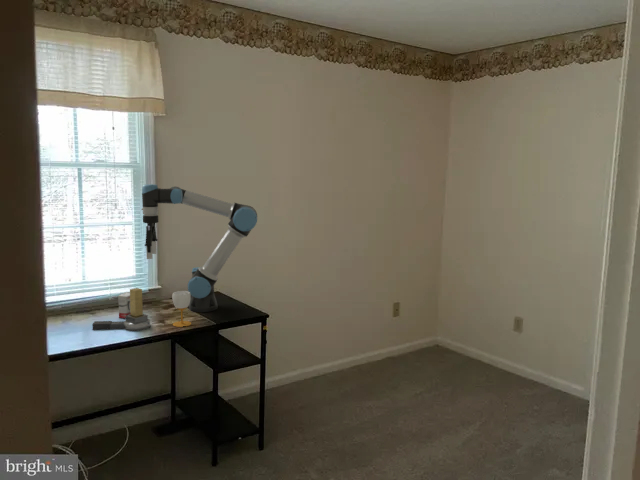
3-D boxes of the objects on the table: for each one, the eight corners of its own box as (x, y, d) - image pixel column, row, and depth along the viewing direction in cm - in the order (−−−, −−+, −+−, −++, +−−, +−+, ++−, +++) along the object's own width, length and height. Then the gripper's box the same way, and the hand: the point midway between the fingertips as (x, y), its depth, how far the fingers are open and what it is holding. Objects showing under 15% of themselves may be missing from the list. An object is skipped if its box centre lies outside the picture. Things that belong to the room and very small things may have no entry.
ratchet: (151, 323, 268) (151, 311, 267) (147, 330, 257) (147, 318, 256) (96, 324, 264) (96, 312, 263) (90, 332, 253) (90, 320, 252)
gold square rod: (137, 319, 264) (136, 287, 261) (142, 321, 261) (142, 289, 259) (130, 321, 261) (129, 289, 258) (135, 323, 258) (134, 290, 256)
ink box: (127, 318, 274) (126, 296, 272) (118, 318, 275) (117, 295, 273) (136, 314, 283) (135, 292, 281) (127, 313, 283) (127, 291, 282)
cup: (191, 321, 273) (191, 290, 270) (190, 326, 264) (190, 295, 262) (173, 321, 271) (172, 290, 269) (171, 327, 263) (171, 295, 260)
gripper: (146, 212, 283) (147, 251, 286) (138, 217, 259) (139, 261, 262) (161, 212, 284) (162, 251, 288) (154, 217, 260) (155, 260, 263)
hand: (151, 256), depth 275 cm, fingers open, 13 cm apart
